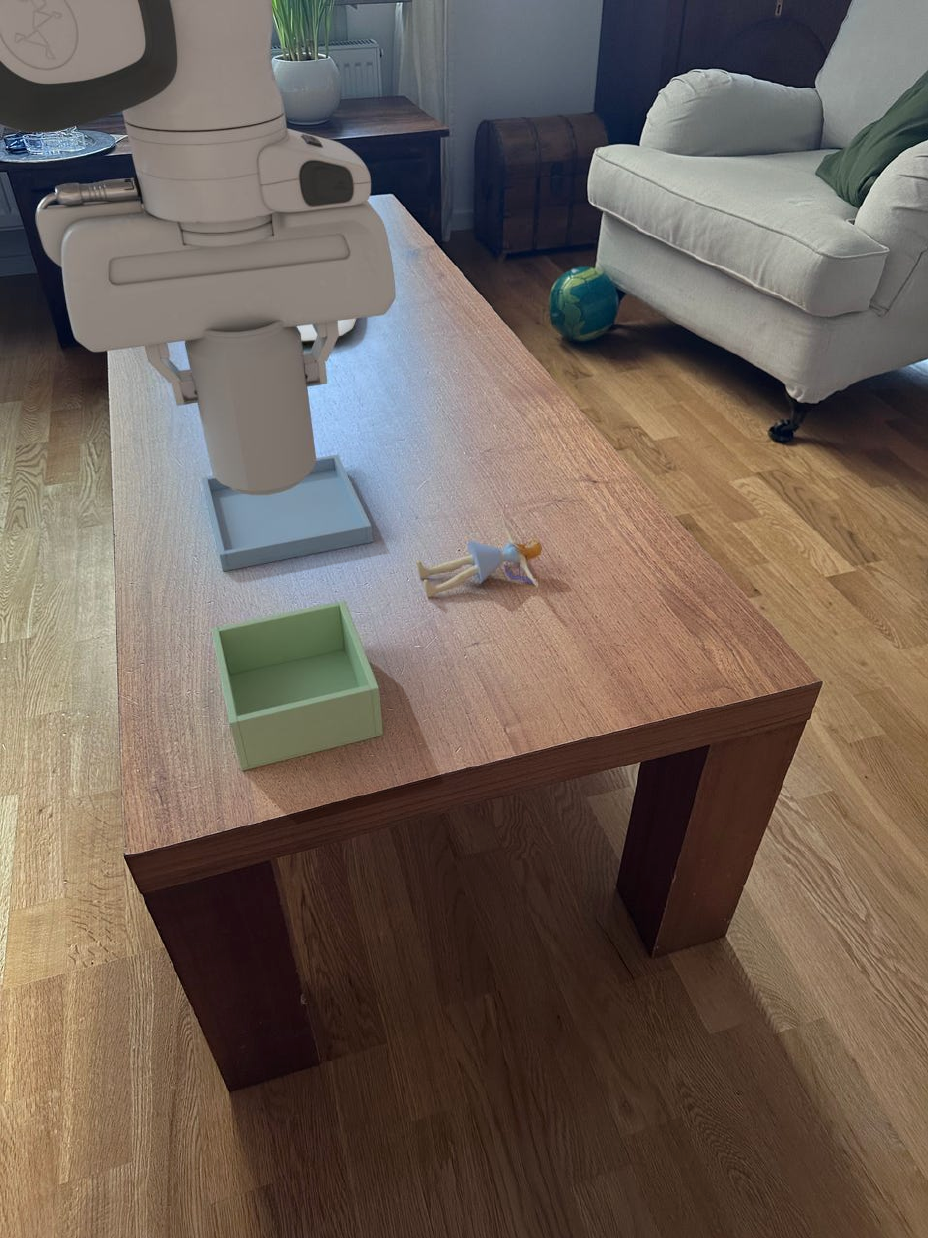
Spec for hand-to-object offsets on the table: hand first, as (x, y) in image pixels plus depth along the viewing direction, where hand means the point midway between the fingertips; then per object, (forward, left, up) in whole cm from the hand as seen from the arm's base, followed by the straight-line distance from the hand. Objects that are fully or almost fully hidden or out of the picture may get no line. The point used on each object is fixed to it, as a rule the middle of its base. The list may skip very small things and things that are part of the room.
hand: (252, 391), depth 60 cm
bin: (-1, -5, -25) cm, 26 cm away
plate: (+13, +76, -26) cm, 81 cm away
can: (0, 0, -7) cm, 7 cm away
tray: (+3, +23, -25) cm, 34 cm away
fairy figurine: (+19, +6, -26) cm, 32 cm away
